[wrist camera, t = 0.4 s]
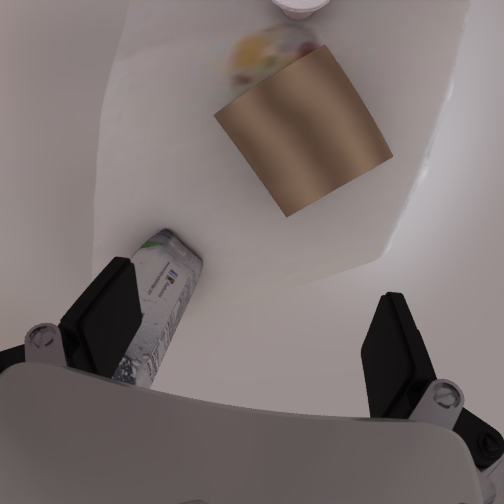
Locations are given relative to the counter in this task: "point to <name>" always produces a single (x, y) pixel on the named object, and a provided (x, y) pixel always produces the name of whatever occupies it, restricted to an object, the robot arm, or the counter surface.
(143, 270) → the juice carton
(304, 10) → the smoothie
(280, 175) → the plinth
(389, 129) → the counter surface
